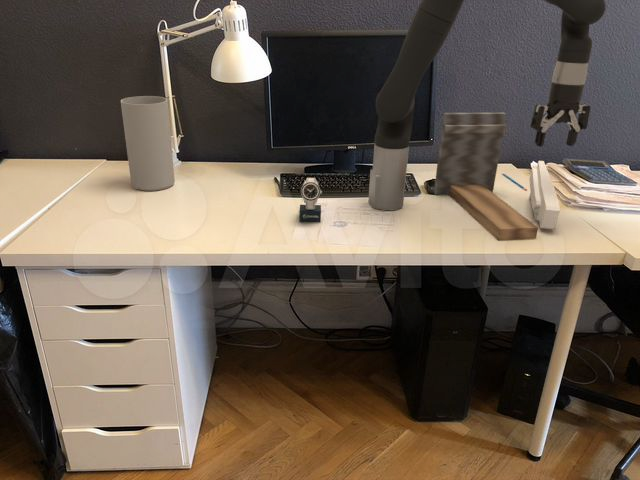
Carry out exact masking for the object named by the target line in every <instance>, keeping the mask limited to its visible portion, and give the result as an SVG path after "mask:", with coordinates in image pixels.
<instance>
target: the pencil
mask: <svg viewBox="0 0 640 480" xmlns="http://www.w3.org/2000/svg"><path fill="white" fill-rule="evenodd" d="M500 174H501V175H502V176H503V177H505V178H506V179H507V180H508V181H510V182H512V183H513V184H515V185H516V186H518V187H519V188H521V190H523V191H528V189H527V188H526V187H524V186H523V185H521V184H520V183H519V182H517V181H516V180H514V179H512V178H511V177H510V176H508V175H507V174H506V173H502V172H501V173H500Z"/></svg>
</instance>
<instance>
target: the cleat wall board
mask: <svg viewBox="0 0 640 480" xmlns="http://www.w3.org/2000/svg"><path fill="white" fill-rule="evenodd" d="M442 116H443V117H442V124H441V125H442V126H441V131H440V132H441V133H440V141H439V150H438V157H437V164H436V165H437V166H436V173H435V181H434V189H433V194H434V195H435V196H449V197H451V198H452V200H454V201H455V202H456V203H457V204H458V205H459V206H460V207H462V208H463V209H464V210H465V211H466V212H467V214H469V215H470V216H471V217H472V218H473V219H474V220H475V221H476V222H477V223H479V224H480V225H481V226H482V227H483V228H484V229H485V230H487V232H489V233H490V234H491V235H492V236H493V237H494V238H495V239H496V240H497V241H513V240H517V241H518V240H530V239H531V240H534V238H536V239H537V236H538V230H539V227H538V226H537V225H536V224H534V223H533V222H532V221H530V220H529V219H528V218H526V217H525V216H524V215H523V214H521V213H520V212H519V211H517V210H516V209H514V207H512V206H511V205H509V204H508V203H507V202H506V201H504V200H503V199H501V198H500V197H499V196H498V195H496V194H495V193H494V190H495V189H494V186H495V182H496V181H495V180H496V175H497V171H498V165H499V159H500V154H501V149H502V148H501V147H502V142H503V137H504V133H505V134H506V133H507V129H508V125H507V124H506V119H507V113H506V112H504V111H503V112H491V111H490V112H488V111H487V112H443V115H442Z"/></svg>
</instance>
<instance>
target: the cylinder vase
mask: <svg viewBox="0 0 640 480" xmlns="http://www.w3.org/2000/svg"><path fill="white" fill-rule="evenodd" d="M120 106H121V116H122V122H123V123H122V124H123V128H124V129H123V130H124V137H125V145H126V146H125V147H126V154H127V160H128V170H129V176H130V184H131V186H132V187H133V189H135V190H139V191H144V192H153V191H154V192H155V191H163V190H165V189H166V190H167V189H168V188H171V187H172V186H173V185H174V184H175V182H176V181H175V179H176V178H175V169H174V159H173V149H172V137H171V127H170V125H171V124H170V116H169V105H168V98H167V97H163V96H155V95H143V96H142V95H141V96H140V95H139V96H131V97H130V96H129V97H124V98H122V99H121V100H120Z"/></svg>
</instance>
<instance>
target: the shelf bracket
mask: <svg viewBox="0 0 640 480" xmlns="http://www.w3.org/2000/svg"><path fill="white" fill-rule="evenodd" d="M530 172H531V173H530V175H529V189H530V193H529V196H528V199H530V201H531V203H530V204H531V209H532V211H533V218H534V220H535V221H538V223H539V227H540V229H547V230H548V229H549V230H555V228H556V224H557V221H558V219H559V216H560V211H561V207H560V203H559V198H558V195H557V192H556V188H555V186H554V183H553V180H552V177H551V175H550V173H549V171H548V168H547V166H546V164H545V161H544V160H538V161H537V166H536V167H535V168H533V167H532V168H531V171H530Z"/></svg>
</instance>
